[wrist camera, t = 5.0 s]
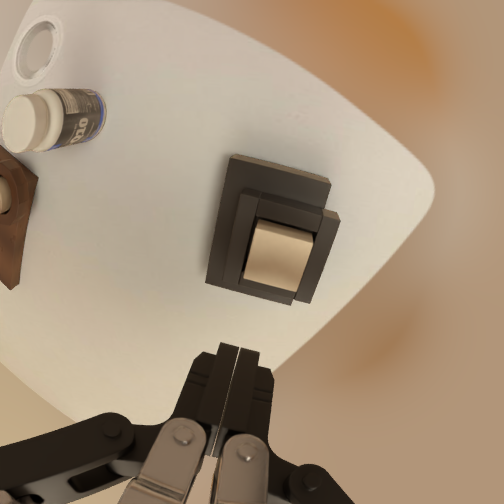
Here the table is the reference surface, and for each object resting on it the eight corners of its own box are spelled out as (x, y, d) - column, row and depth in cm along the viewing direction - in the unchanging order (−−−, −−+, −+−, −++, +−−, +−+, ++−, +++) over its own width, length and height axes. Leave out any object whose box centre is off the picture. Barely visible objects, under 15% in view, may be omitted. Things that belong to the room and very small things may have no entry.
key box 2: (235, 153, 22) (224, 161, 18) (340, 182, 22) (349, 195, 18) (211, 270, 26) (198, 295, 23) (302, 294, 26) (302, 322, 22)
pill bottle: (82, 152, 23) (14, 173, 16) (59, 113, 22) (-9, 124, 14) (117, 118, 22) (47, 126, 14) (92, 78, 20) (22, 75, 13)
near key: (258, 218, 20) (255, 227, 18) (312, 232, 20) (313, 243, 18) (246, 266, 22) (242, 278, 20) (296, 279, 21) (296, 292, 20)
